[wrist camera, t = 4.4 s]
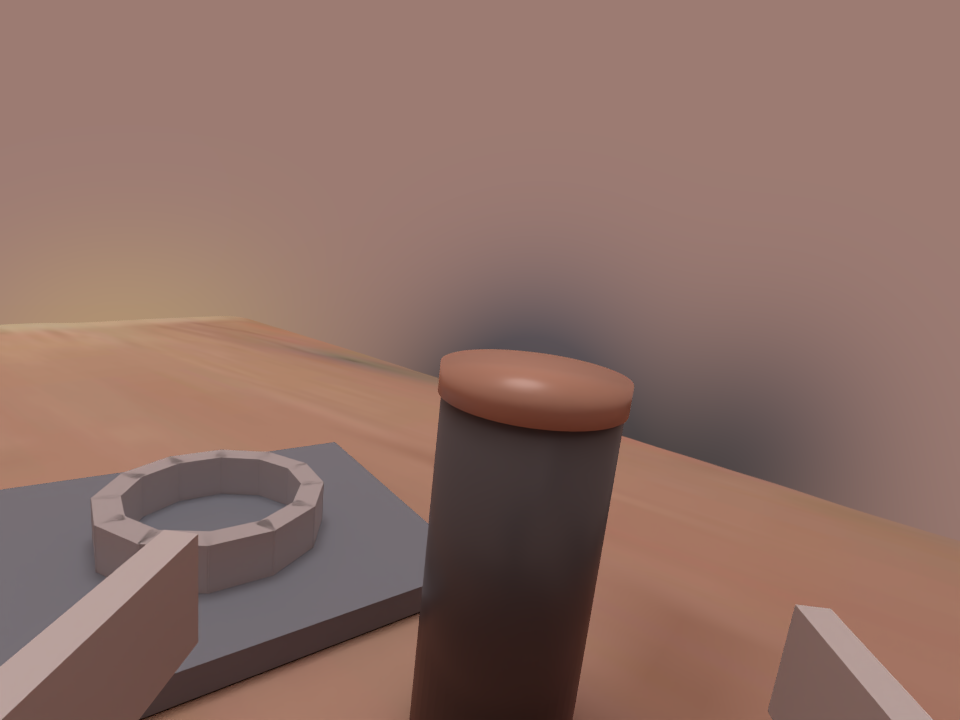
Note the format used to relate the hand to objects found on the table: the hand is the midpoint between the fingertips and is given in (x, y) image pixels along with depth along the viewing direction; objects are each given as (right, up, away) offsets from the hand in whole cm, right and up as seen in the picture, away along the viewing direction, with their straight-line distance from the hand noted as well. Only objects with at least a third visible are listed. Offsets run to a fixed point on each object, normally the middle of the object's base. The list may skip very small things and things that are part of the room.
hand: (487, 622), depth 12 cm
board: (-12, -3, +13) cm, 18 cm away
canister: (0, -6, +5) cm, 8 cm away
